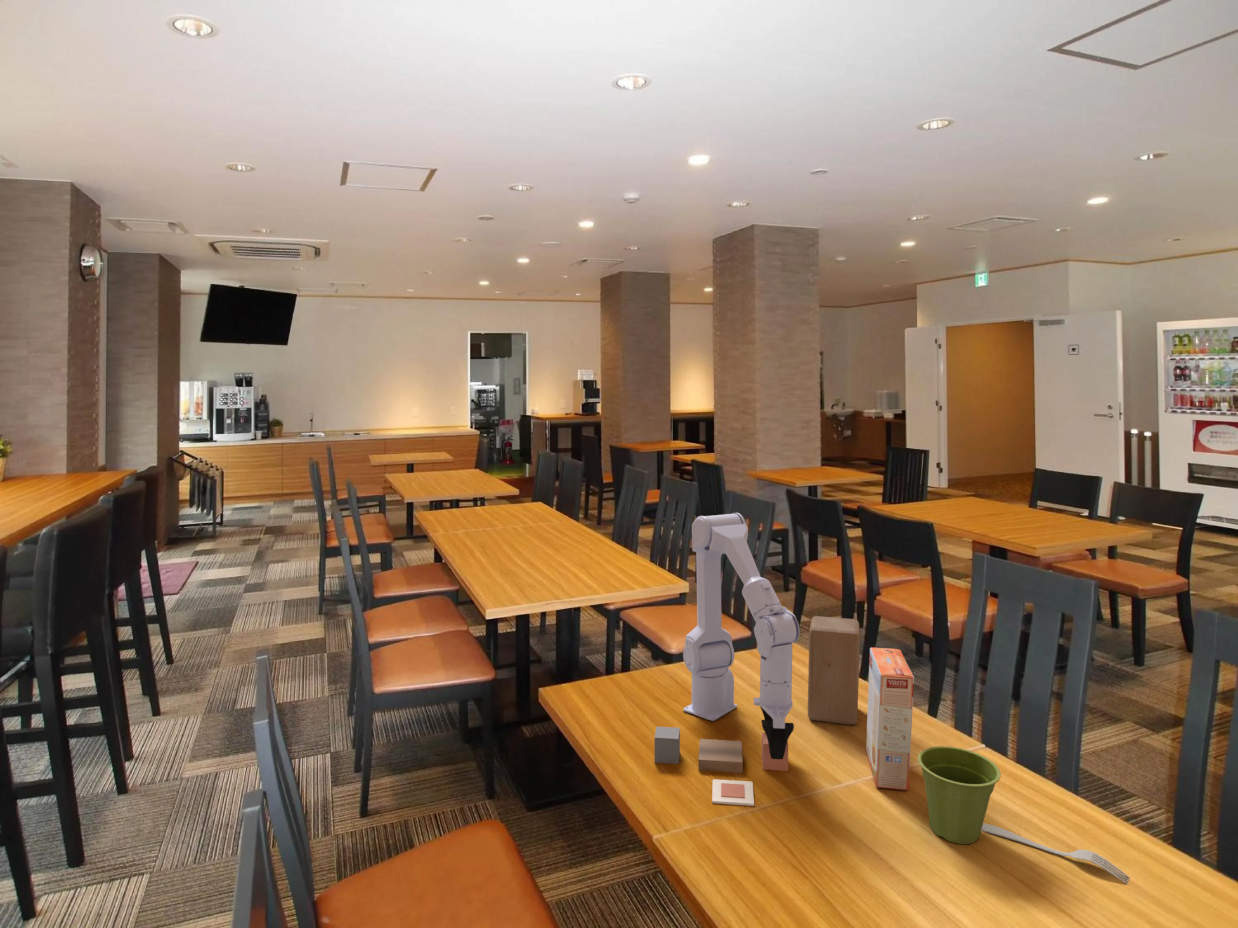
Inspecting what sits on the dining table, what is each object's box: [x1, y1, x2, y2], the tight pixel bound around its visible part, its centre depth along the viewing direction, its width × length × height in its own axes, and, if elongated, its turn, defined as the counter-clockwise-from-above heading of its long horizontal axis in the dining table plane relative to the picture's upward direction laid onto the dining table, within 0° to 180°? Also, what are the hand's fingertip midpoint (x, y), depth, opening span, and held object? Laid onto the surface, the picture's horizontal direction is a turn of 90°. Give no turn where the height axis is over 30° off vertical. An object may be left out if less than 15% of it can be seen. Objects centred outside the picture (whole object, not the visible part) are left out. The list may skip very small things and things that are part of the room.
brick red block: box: [761, 731, 789, 772], centre depth 140 cm, size 4×4×5 cm
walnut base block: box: [697, 738, 744, 774], centre depth 141 cm, size 8×8×2 cm
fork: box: [981, 822, 1131, 886], centre depth 113 cm, size 3×21×3 cm, turn 48°
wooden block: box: [807, 615, 861, 726], centre depth 159 cm, size 10×10×20 cm
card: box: [711, 778, 755, 807], centre depth 130 cm, size 7×7×1 cm
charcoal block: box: [654, 726, 681, 765], centre depth 143 cm, size 4×4×5 cm
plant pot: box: [917, 745, 1002, 845], centre depth 118 cm, size 12×12×11 cm
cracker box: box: [865, 647, 915, 791], centre depth 136 cm, size 14×6×21 cm, turn 168°
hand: (775, 747), depth 140 cm, fingers open, 7 cm apart
